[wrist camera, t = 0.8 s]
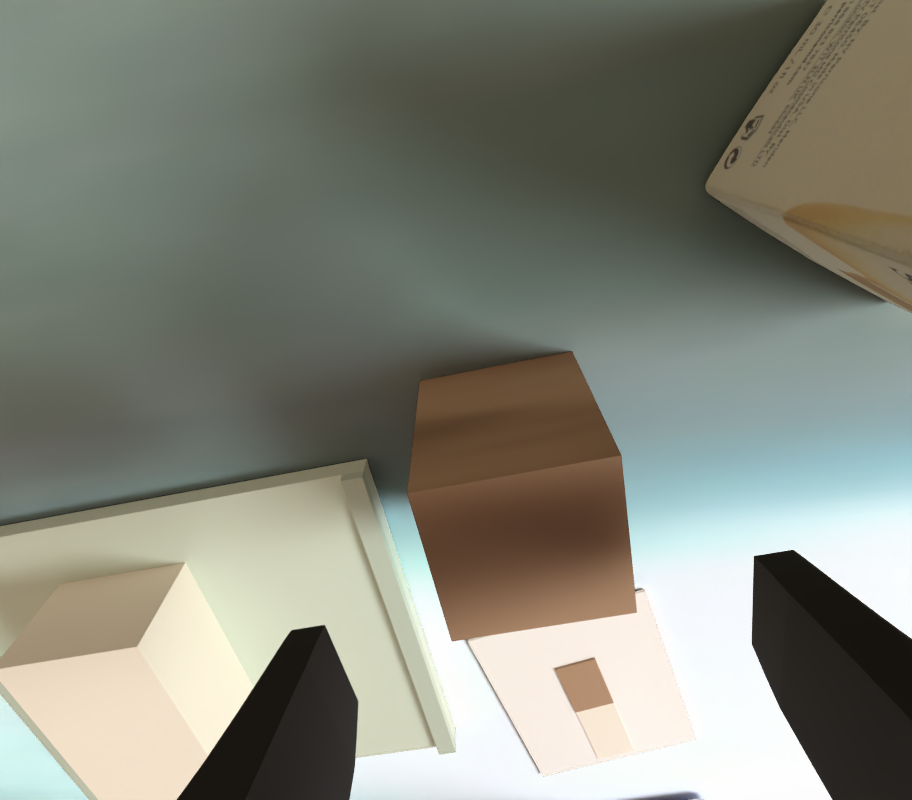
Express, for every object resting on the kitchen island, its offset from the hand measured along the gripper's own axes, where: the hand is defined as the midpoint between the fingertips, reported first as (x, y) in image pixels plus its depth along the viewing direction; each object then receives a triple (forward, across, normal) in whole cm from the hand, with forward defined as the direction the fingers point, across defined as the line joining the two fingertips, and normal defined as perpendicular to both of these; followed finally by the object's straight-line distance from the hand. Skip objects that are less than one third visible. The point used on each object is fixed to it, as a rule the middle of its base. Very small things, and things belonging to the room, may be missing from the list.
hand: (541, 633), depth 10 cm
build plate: (+7, +11, +6) cm, 14 cm away
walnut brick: (+7, 0, 0) cm, 7 cm away
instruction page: (+7, -1, +11) cm, 13 cm away
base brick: (+6, +12, +6) cm, 15 cm away
